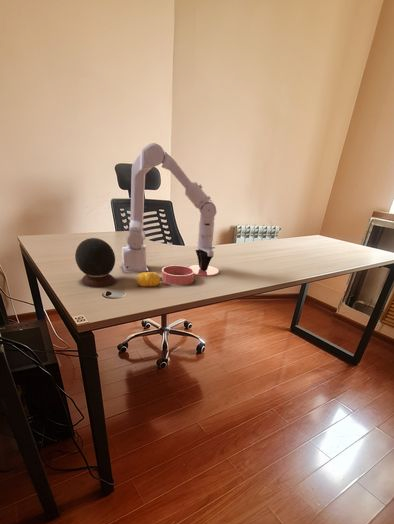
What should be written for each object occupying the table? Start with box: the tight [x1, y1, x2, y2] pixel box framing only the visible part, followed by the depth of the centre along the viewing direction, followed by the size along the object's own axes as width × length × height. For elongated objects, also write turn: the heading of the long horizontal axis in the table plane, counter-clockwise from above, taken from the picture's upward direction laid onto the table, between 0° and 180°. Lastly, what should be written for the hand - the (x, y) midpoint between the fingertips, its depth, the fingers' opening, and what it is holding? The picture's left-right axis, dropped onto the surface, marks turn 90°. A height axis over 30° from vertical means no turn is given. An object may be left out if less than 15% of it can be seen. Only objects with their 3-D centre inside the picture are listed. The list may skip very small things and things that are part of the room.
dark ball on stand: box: [74, 237, 116, 288], centre depth 106 cm, size 13×13×15 cm
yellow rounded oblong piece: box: [136, 271, 163, 288], centre depth 108 cm, size 9×5×5 cm, turn 108°
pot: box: [161, 264, 195, 286], centre depth 115 cm, size 12×12×4 cm
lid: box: [188, 264, 220, 277], centre depth 125 cm, size 13×13×6 cm
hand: (203, 269), depth 125 cm, fingers closed on lid, 2 cm apart
